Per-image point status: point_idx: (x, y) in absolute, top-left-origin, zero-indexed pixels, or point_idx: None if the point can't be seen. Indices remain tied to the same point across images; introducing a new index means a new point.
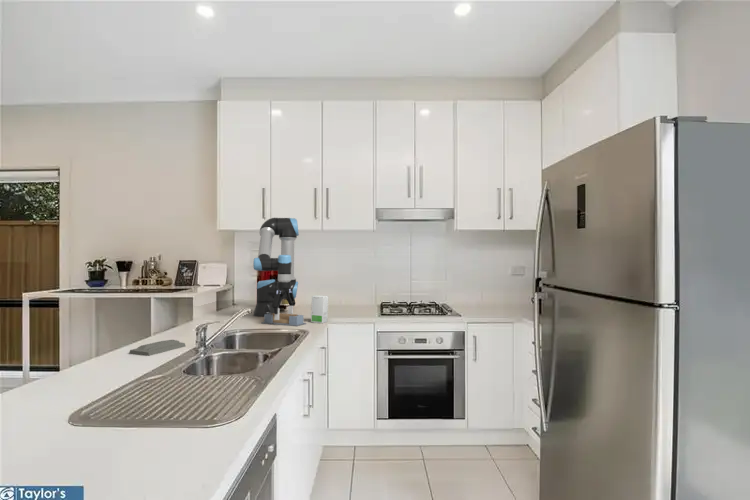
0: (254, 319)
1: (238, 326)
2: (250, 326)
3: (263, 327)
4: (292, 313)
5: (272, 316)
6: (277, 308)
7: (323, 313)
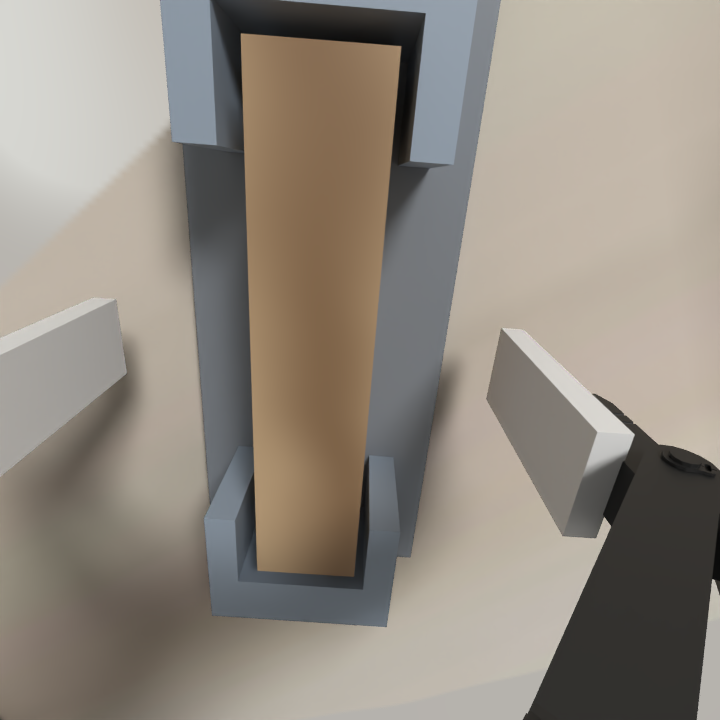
0: (195, 700)
1: None
2: None
3: (704, 387)
4: (63, 317)
5: (376, 510)
6: (633, 459)
7: None
